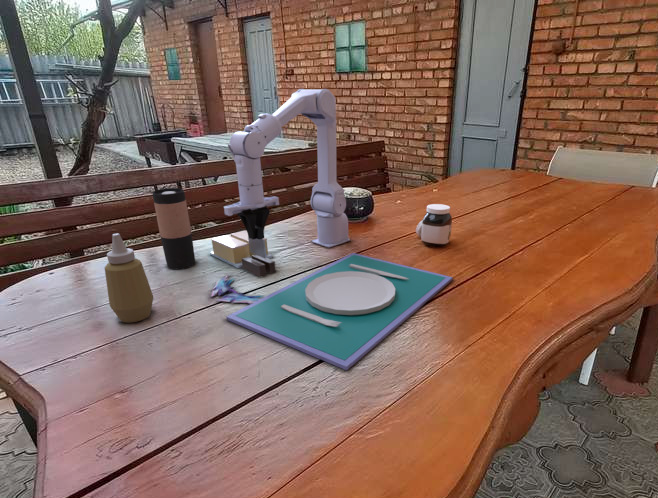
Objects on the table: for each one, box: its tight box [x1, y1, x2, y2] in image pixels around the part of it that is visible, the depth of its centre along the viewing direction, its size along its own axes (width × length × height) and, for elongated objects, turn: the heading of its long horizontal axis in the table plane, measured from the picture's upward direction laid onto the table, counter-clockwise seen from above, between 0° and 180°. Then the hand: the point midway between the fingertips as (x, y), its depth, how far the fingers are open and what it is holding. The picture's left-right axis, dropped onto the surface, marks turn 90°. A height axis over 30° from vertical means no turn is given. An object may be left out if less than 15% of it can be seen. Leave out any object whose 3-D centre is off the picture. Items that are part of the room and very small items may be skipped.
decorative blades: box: [210, 274, 264, 305], centre depth 99 cm, size 20×1×10 cm
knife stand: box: [242, 254, 277, 278], centre depth 111 cm, size 5×8×3 cm, turn 47°
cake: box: [209, 229, 274, 269], centre depth 120 cm, size 11×15×5 cm
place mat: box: [226, 252, 454, 371], centre depth 96 cm, size 45×30×2 cm
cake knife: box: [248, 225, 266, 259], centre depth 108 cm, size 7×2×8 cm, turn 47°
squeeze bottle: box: [104, 232, 154, 324], centre depth 85 cm, size 8×8×18 cm
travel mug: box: [151, 187, 196, 270], centre depth 111 cm, size 8×8×20 cm
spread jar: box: [415, 203, 453, 248], centre depth 130 cm, size 12×11×12 cm
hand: (256, 237), depth 108 cm, fingers closed on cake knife, 2 cm apart
